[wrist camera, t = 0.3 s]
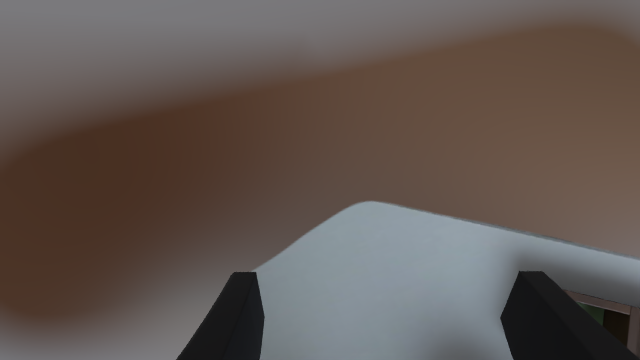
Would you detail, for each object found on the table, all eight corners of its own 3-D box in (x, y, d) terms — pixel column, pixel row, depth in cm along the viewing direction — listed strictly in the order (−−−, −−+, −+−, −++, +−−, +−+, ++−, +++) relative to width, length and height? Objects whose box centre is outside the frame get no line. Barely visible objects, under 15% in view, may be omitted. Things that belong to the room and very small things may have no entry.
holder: (679, 318, 35) (719, 327, 31) (673, 394, 34) (713, 414, 30) (535, 283, 37) (556, 287, 33) (525, 354, 36) (545, 367, 32)
